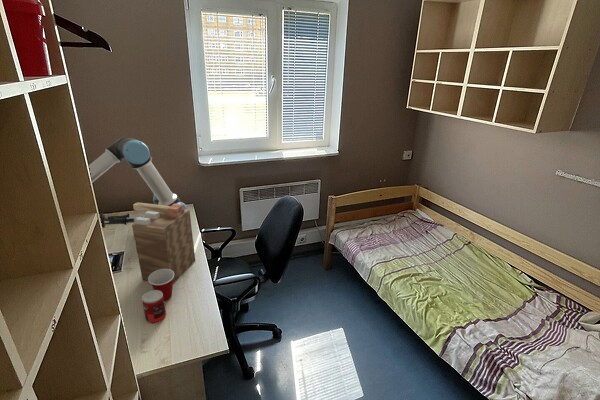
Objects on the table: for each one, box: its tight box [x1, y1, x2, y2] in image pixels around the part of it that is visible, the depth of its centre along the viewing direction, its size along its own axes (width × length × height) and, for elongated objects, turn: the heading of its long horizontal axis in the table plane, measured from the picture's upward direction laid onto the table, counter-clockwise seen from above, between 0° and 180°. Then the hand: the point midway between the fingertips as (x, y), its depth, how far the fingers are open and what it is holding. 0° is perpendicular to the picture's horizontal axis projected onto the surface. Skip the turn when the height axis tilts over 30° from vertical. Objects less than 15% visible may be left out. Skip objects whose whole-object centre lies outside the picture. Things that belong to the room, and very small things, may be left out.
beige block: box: [132, 202, 184, 217], centre depth 161 cm, size 6×25×4 cm, turn 78°
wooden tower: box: [131, 208, 196, 285], centre depth 162 cm, size 22×16×30 cm
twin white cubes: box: [135, 211, 160, 226], centre depth 152 cm, size 9×6×2 cm, turn 168°
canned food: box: [141, 289, 167, 324], centre depth 134 cm, size 8×8×11 cm
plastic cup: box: [147, 269, 174, 303], centre depth 145 cm, size 11×11×12 cm
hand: (142, 217), depth 173 cm, fingers open, 13 cm apart
